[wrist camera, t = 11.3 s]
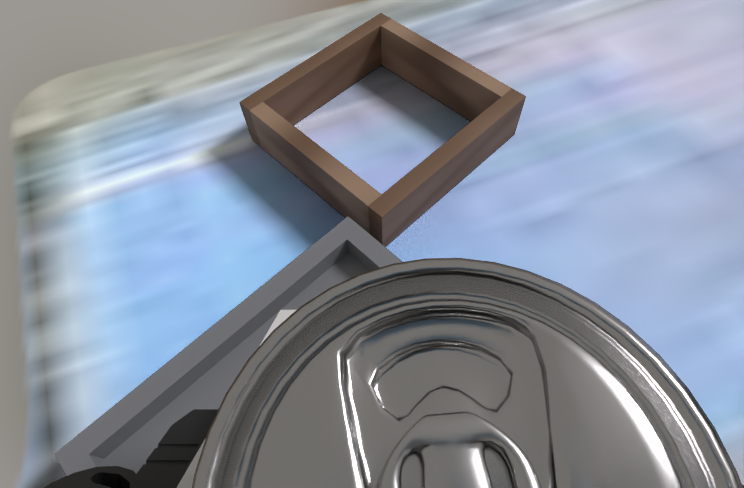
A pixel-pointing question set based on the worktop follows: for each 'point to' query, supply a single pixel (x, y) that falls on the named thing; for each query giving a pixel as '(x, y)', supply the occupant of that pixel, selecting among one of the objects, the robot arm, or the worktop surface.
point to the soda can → (458, 392)
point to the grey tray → (219, 354)
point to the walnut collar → (417, 66)
